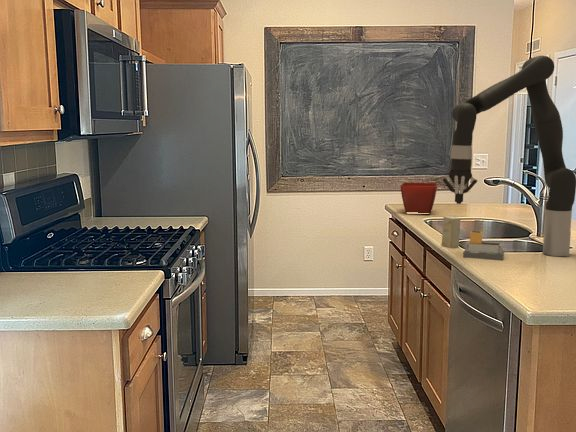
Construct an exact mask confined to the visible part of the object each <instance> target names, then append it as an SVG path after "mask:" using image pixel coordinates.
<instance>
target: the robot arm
mask: <svg viewBox="0 0 576 432" xmlns="http://www.w3.org/2000/svg"><path fill="white" fill-rule="evenodd" d="M554 71H555V62H554V60H553V59H552V58H551V57H550V56H547V55H537V56H534V57H531V58H529V59H527V60H525V62H523V64H522V66H521V70H519V71H518V72H517V73H515V74H513V75H510V76H509V77H507V78H505V79H502V80H500V81H499V82H497V83H495V84H493V85H490V86H489V87H487V88H486V89H484V90H482V91H481V92H479V93H478V94H476V95H474V96H472V97H470V98H468V99H465V100H463V101H462V102H460V103H458V104H456V106H454V107H453V109H452V111H451V117H452V119H453V120H454V121H455V122H456V129H455V130H454V131H453V135H452V145H451V153H450V168H449V169H450V171H449V173H448V176H446V177H444V178H443V179H442V181H443V183H444V184H445V185H446V187H447V188H448V189H449V191H450V192H451V193H454V202H455V203H456V204H457V205H459V204H460V205H461V204H462V203H463V202H464V194H466V193H468V192H470V190H471V189H472V188H473V187H474V186H475V185H476V184H477V183H478V179H475V177H473V174H472V163H473V161H472V160H473V133H474V131H475V126H476V122H477V115H479V114H480V113H483V112H486V111H488V110H491V109H492V108H494V107H496V106H498V105H499V104H500V103H502V102H504V101H505V100H507V99H508V98H510V97H512V96H514V94H517V93H518V92H521V91H522V90H524V89H526V91H527V95H528V98H529V104H530V110H531V114H532V118H533V125H534V129H535V133H536V138H537V142H538V146H539V150H540V153H541V157H542V164H543V173H544V181H545V185H546V187H548V188H549V193H548V199H547V201H546V202H545V207H544V208H545V209H544V210H545V211H544V226H543V227H544V228H543V241H542V242H543V243H542V254H543V255H547V256H550V257H551V256H552V257H570V252H571V251H570V250H571V249H570V247H571V234H572V233H571V232H572V231H571V228H572V216H573V215H572V212H573V206H574V204H575V198H576V174H575V172H574V171H573V170H571V169H569V168H568V167H567V166H566V163H565V160H564V155H563V139H564V129H563V124H562V119H561V118H562V117H561V116H560V115H561V114H560V112H559V110H558V108H557V106H556V105H555V103H554V101H553V99H552V98H551V96H550V93H549V90H548V87H547V79H549V78H550V77H551V76H552V75H553V73H554ZM451 181H452V183H453V185H454V187H453V185H452V184H451V183H450V182H451ZM468 182H470V184H469V185H468V186H467V188H465V187H466V185H467V183H468Z"/></svg>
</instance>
